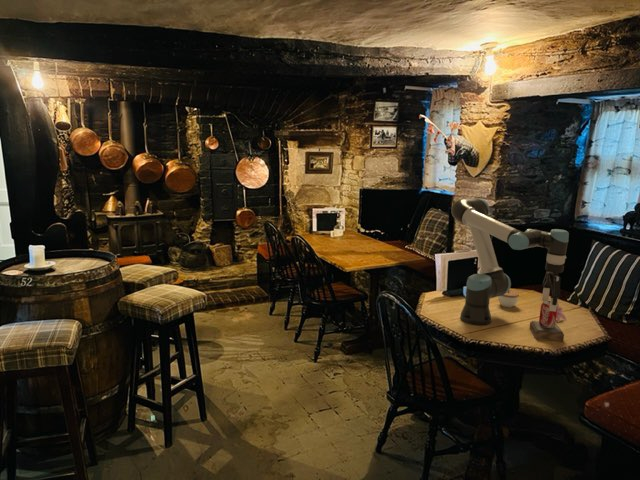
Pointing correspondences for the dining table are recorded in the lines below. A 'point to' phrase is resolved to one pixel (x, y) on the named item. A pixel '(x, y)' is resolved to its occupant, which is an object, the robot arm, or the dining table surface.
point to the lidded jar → (508, 299)
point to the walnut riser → (546, 332)
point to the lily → (559, 313)
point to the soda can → (547, 315)
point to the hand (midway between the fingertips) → (548, 305)
